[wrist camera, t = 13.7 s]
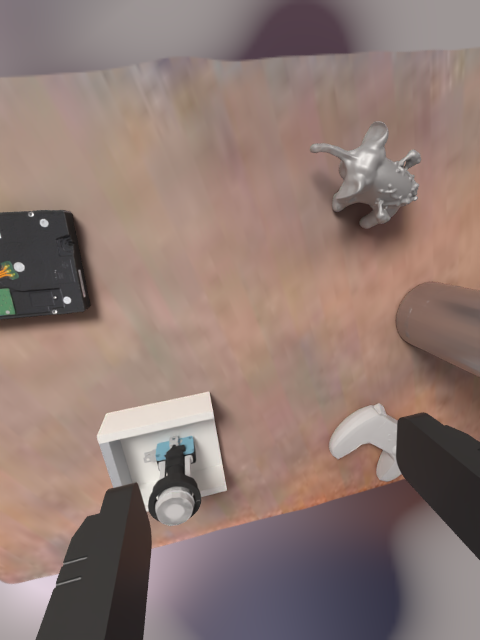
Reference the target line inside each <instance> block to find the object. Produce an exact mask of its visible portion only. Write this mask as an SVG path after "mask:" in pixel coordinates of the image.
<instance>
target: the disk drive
mask: <svg viewBox="0 0 480 640" xmlns="http://www.w3.org/2000/svg"><path fill="white" fill-rule="evenodd" d="M89 307H90V301H89V297H88V292H87V285H86V281H85V276H84V271H83V266H82V261H81V256H80V251H79V246H78V241H77V236H76V231H75V228H74V224H73V217H72V213H71V212H69V211H65V210H52V211H51V210H37V211H32V212H31V211H24V212H2V213H0V319H11V318H20V317H32V316H42V315H53V314H68V313H74V312H83V311H85V310H86V309H88V308H89Z"/></svg>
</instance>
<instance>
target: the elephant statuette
mask: <svg viewBox="0 0 480 640" xmlns="http://www.w3.org/2000/svg"><path fill="white" fill-rule="evenodd" d="M387 139H388V128H387V126H386V125H385V124H384V123H383V122H380V121H377V122H374V123H372V124H371V126H370V128H369V130H368V131H367V133H366V135H365V137H364V139H363V142H362V144H361V146H360V147H358V148H357V149H354V150H351V151H346V150H343V149H342V148H340V147H337V146H334V145H330V144H325V143H322V144H313V145H312V146H311V147H310V151H311V152H312V153H318V152H327V153H330V154H332V155H334V156H336V157H338V158H340V159H341V160H342V161H341V163H340V165H339V173H340V176H341V177H342V178H343V180H344V182H343V184H342V186H341V187H340V189H339V191H338V192H337V193H335V194H334V196H333V202H332V208H333V210H334V211H335V212H339V211H341V210H343V209H344V208H346V206H348V205H351V204H354V203H358V202H361V203H366V204H368V205H370V207H372V208H373V210H372V211H371V212H370V213H369V214H367V215H365V216H364V217H362V218H361V220H360V222H359V224H360V226H361V227H363V228H366V229H368V228H371V227H373V226H375V225H376V224H378V223H380V224H384V223H386V222H388V221H389V220H390V219H391V217H392V216H393V215H394V214H395V213H396V212H397V211H398V209H399V208H400V207H401V206H405V205H406V204H409V203H411V201H413V200H414V201H416V200H417V199H418V197H417V196H416V195H417V190H418V187H419V184H418V183H416V182H415V180H414V177H415V176H414V175H411V174H410V173H409V172H408V171H407V170H408V168H410V167H412V166H414V165H416V164H418V163H420V161H421V158H420V153H418V152H417V151H416V150H411V151H409V153H408V154H407V156H406V157H405V158H403V159H402V160H400V161H396V162H393V161H391V160H389V159H388V158H386V152H385V148H384V145H385V143H386V141H387ZM405 161H406V164H405V166H403V165H404V162H405Z"/></svg>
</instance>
